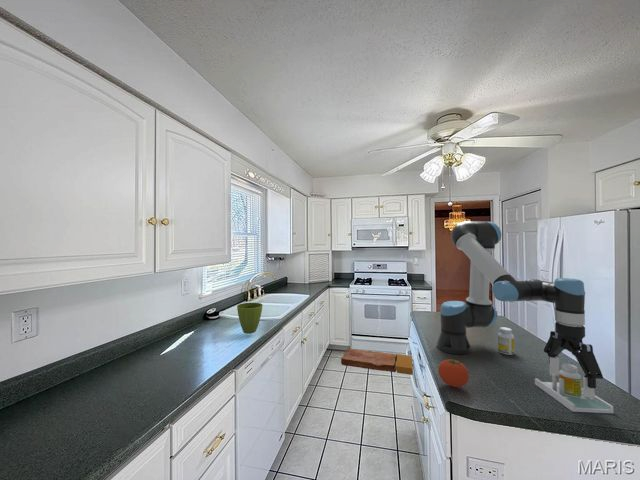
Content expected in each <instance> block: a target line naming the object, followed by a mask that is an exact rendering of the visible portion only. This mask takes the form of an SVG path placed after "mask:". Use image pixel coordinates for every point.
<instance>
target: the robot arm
mask: <svg viewBox="0 0 640 480" xmlns="http://www.w3.org/2000/svg"><path fill="white" fill-rule="evenodd" d="M450 237H451V241H452V244H453V245H454V246H455V247H456V249H458V250H459V251H462V252H463V253H464V254H465V256H466V257H468V258H469V260H470V266H469V267H470V271H469V272H470V273H469V294H468V295H469V296H467V297H466V298H465V302H464V301H461V300H448V301H445V302H442V304H441V305H440V333H439V335H438V338H437V342H436V343H437V344H436V346H437V349H439V350H441V351H442V352H445V353H449V354H453V355H462V356H463V355H468V354H470V353H471V351H472V350H471V349H472V348H471V344H470V342H469V339H468V335H467V328H469V329H470V328H487V327H492V326H493V325H495V324H496V322H497V320H498V311H497V310H496V309H497V308H496V307H495V306H494V305H493V302H492V300H490V284H491V285H492V287H491V292H492V293H493V297H494V298H495V299H496V300H497V301H499V302H500V301H501V302H508V303H509V302H510V303H513V302H533V301H542V302H547V303H552V304H554V321H556V322H555V323H554V328H555V331H554V330H552V331H550V333H549V338H548V340H547V342H546V343H545V346H544V348H543V352H544V353H546V354H547V356H548V364H549V376H551V377H552V374H556V375H557V377H559V371H560V358H559V355H560V354H561V353H562V352H563V351H564V350H567V351H568V352H569V353H571V355H572V356H574V357H575V359H576V360H577V362H578V364H579V365H580V368H581V369H582V371H583V373H584V375H582V379H583V382H582V383H583V385H582V388H583V396H585V397H594V398H595V396H596V394H595V392H596V388H597V379H599V380H602V379H604V376H603V372H602V369H601V368H600V366H599V363H598V361H597V359H596V356H595V353H594V347H593V345H592V344H586V343H583V339H584V338H585V337H586V327H585V325H586V318H585V317H586V314H585V313H586V310H585V302H586V301H585V300H586V299H585V298H586V290H585V283H584V282H583V281H582V280H581V279H576V278H566V277H557V278H555V279H554V282H553V281H546V280H541V279H531V278H528V279H526V280H517V279H516V278H515V277H513V276H512V275H511V273H509V272H508V271H507V269H505V267H503V265H501V264H500V262H499V261H497V259H496V258H495V257H493V255H492V252H493V251H494V250H495V248H496V245H497V244H499V243H500V241H501V239H502V231H501V228H500V227H499V226H498V225H497V223H495V222H493V221H487V220H486V221H482V220H481V221H478V220H477V221H476V220H475V221H472V220H471V221H467V220H465V221H461V222H458V223H457V224H456V225H455V226H454V227H453V228H452V230H451V234H450Z"/></svg>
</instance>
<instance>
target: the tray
mask: <svg viewBox="0 0 640 480" xmlns="http://www.w3.org/2000/svg"><path fill="white" fill-rule="evenodd" d="M579 375H580V374H579ZM551 377H552V378H551V381H542V380H540V379H539V378H534V385H536V386H537V387H538V388H540V389H541V390H542V391H544V392H545V393H546V394H547V395H549V396H551V397H552V398H553V399H554V400H555V401H557V402H559V403H560V404H562V405H563V406H564V407H566V408H567V409H568V410H570V411H571V412H576V413H595V414H596V413H597V414H614V405H612V404H610V403H608V402H607V401H606V400H603V399H602V398H601V397H599V396H597V395H595V398H594V397H585V396H583V386H581V397H580V398H573V397H569V396H566V395H564V379H562V378H557V377H558V376H557V375H556V374H552V376H551ZM580 377H581V378H582V375H580ZM557 379H559V380H557Z"/></svg>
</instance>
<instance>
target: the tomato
mask: <svg viewBox="0 0 640 480" xmlns="http://www.w3.org/2000/svg"><path fill="white" fill-rule="evenodd" d="M438 365H439V366H438V375H439V376H440V377H439V378H440V379H441V381H443V382H444V383H445V384H446V385H448V386H450V387H454V388H461V387H463V386H465V385H466V384H467V383H468V381H469V378H470V375H469V371H468V369H467V367H466V366H465V364H464V363H462V361H459V360H456V359H455V358H452V359H450V358H447V357H446V359H445V360H443V361H441V362H440V363H439V364H438Z"/></svg>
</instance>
